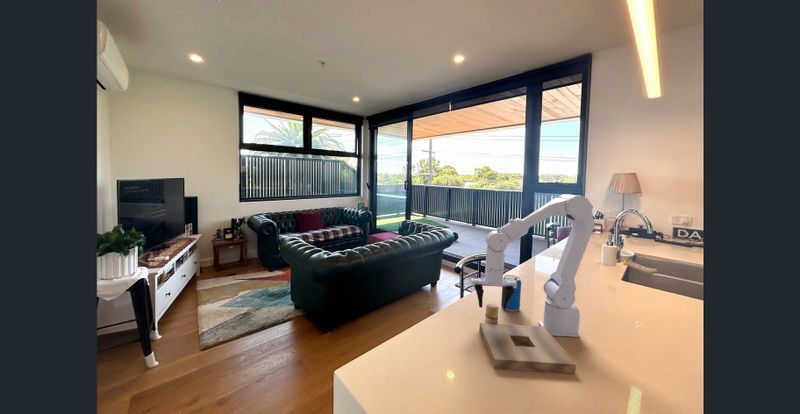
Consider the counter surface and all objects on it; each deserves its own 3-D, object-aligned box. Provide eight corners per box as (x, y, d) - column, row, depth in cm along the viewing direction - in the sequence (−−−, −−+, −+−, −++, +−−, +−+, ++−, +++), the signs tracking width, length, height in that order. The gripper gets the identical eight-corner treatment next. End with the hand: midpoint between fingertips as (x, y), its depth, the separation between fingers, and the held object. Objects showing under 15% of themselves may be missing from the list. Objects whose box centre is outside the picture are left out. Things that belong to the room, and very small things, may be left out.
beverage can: (521, 313, 101) (523, 281, 100) (502, 311, 103) (504, 279, 101) (517, 305, 108) (519, 275, 107) (499, 303, 109) (501, 273, 108)
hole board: (543, 333, 88) (544, 326, 88) (575, 373, 70) (576, 364, 70) (479, 330, 89) (479, 322, 89) (494, 368, 72) (494, 359, 71)
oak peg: (495, 320, 96) (496, 303, 95) (499, 326, 92) (500, 309, 91) (483, 319, 96) (484, 303, 96) (486, 326, 92) (487, 308, 92)
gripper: (512, 264, 95) (510, 302, 97) (470, 262, 96) (468, 300, 98) (520, 271, 88) (517, 312, 90) (473, 269, 89) (471, 309, 91)
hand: (492, 306), depth 93 cm, fingers open, 7 cm apart
